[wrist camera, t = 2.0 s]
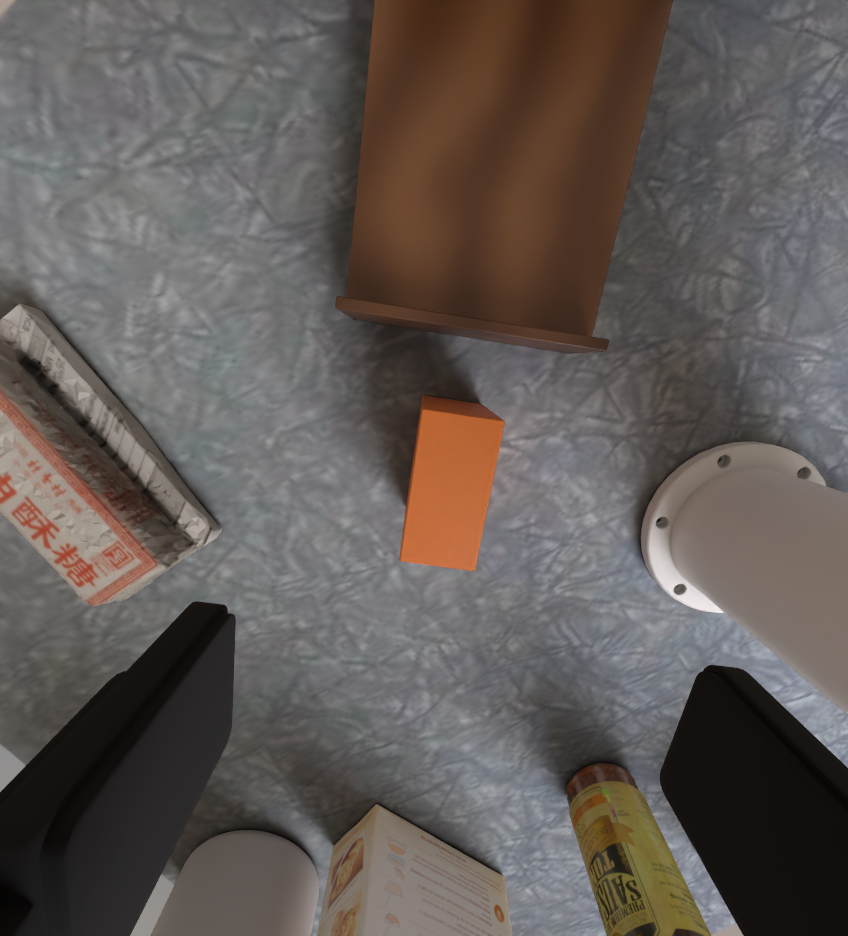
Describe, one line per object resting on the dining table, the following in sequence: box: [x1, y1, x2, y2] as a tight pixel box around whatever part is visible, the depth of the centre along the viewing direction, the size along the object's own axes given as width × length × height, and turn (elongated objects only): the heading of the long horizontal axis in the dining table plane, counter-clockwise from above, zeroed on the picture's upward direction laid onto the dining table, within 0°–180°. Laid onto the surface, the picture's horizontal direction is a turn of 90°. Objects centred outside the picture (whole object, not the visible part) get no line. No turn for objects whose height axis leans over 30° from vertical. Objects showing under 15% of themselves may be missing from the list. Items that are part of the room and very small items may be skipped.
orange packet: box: [400, 395, 505, 571], centre depth 24 cm, size 4×8×8 cm, turn 171°
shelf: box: [335, 0, 673, 354], centre depth 18 cm, size 14×22×11 cm, turn 171°
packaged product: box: [0, 304, 222, 606], centre depth 26 cm, size 18×5×10 cm
